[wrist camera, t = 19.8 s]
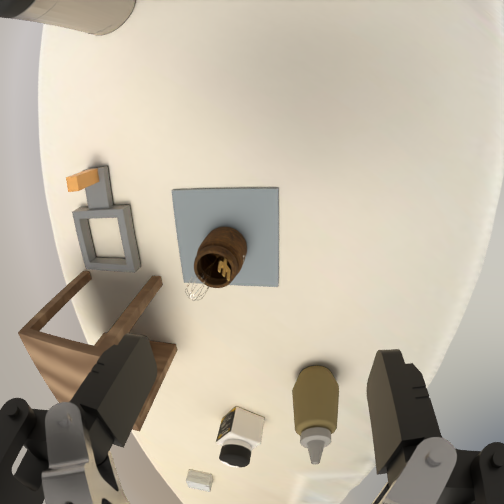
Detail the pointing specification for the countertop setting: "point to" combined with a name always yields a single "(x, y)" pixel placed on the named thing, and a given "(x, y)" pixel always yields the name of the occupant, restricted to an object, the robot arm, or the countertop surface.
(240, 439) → the medicine bottle
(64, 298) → the walnut shelf
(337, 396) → the squeeze bottle
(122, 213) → the sliding frame
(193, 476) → the small box
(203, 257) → the utensil holder
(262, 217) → the slate mat
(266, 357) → the countertop surface
